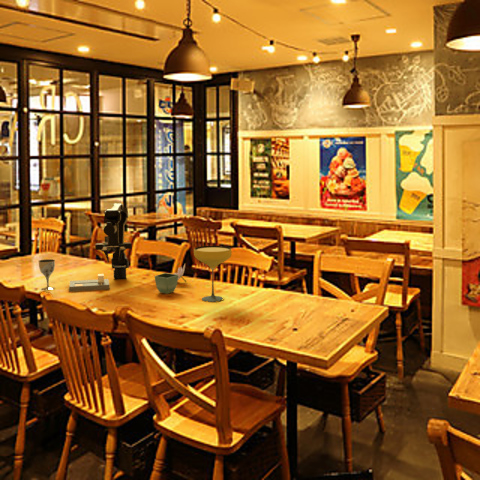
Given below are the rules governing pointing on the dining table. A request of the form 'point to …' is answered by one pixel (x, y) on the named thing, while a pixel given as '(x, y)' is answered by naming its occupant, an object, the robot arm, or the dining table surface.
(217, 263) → the cocktail glass
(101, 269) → the dining table surface
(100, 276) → the fader
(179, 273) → the water lily
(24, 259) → the dining table surface
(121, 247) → the robot arm
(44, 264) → the wine glass
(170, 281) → the flower pot
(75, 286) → the console
